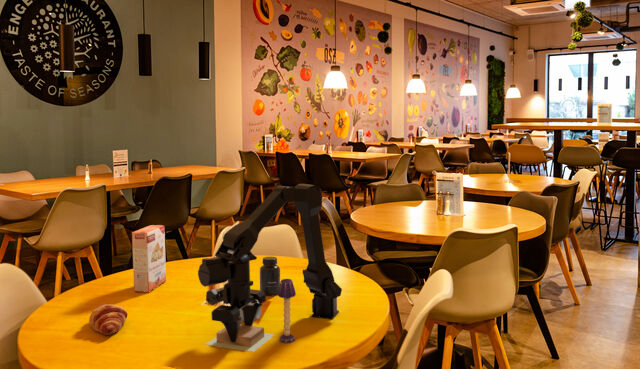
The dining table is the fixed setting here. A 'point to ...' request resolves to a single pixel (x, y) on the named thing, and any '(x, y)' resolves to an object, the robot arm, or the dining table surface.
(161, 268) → the cracker box
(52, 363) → the dining table surface
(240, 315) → the bowl
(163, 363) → the dining table surface
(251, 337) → the brown flat block
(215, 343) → the mat
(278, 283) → the supplement bottle
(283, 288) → the toy lamp
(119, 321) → the croissant
